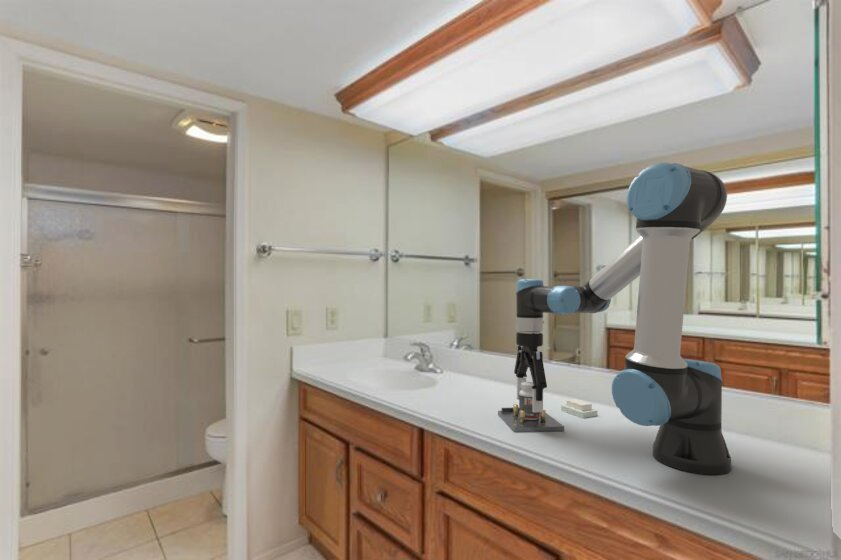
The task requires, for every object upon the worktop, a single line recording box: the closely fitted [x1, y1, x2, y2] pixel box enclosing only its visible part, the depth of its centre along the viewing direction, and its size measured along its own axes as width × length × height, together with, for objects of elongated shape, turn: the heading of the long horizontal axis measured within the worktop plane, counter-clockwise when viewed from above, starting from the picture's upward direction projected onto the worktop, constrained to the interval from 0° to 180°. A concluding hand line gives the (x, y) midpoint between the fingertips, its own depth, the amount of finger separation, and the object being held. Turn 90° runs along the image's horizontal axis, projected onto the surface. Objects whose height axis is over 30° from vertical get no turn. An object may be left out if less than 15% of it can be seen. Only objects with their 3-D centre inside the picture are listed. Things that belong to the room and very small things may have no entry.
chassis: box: [497, 404, 565, 433], centre depth 125 cm, size 16×14×4 cm
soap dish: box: [560, 398, 598, 419], centre depth 135 cm, size 9×6×3 cm, turn 26°
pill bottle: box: [518, 381, 539, 420], centre depth 125 cm, size 6×6×10 cm
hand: (529, 405), depth 125 cm, fingers open, 13 cm apart
